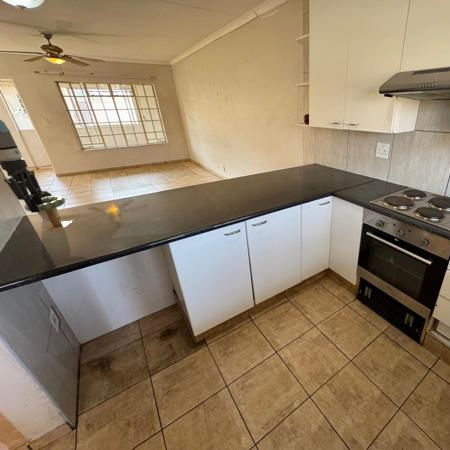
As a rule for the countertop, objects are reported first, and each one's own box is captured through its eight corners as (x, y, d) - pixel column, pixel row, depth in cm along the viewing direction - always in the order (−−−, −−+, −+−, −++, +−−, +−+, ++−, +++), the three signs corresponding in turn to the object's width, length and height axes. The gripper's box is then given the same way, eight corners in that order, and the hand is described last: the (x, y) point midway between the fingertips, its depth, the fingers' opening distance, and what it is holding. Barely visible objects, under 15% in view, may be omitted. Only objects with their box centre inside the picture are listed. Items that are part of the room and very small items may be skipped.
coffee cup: (39, 223, 128) (24, 197, 121) (40, 218, 135) (26, 192, 128) (62, 218, 133) (48, 192, 126) (62, 213, 140) (50, 188, 133)
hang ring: (18, 213, 111) (14, 207, 110) (40, 202, 123) (37, 196, 122) (54, 210, 113) (51, 204, 112) (72, 200, 126) (69, 194, 124)
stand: (41, 233, 119) (27, 208, 113) (53, 225, 127) (41, 200, 121) (63, 231, 121) (50, 206, 115) (73, 223, 129) (62, 199, 122)
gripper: (5, 163, 96) (35, 217, 107) (35, 154, 110) (59, 203, 121) (-18, 164, 95) (15, 218, 106) (15, 155, 109) (41, 204, 120)
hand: (38, 210), depth 113 cm, fingers closed on hang ring, 3 cm apart
